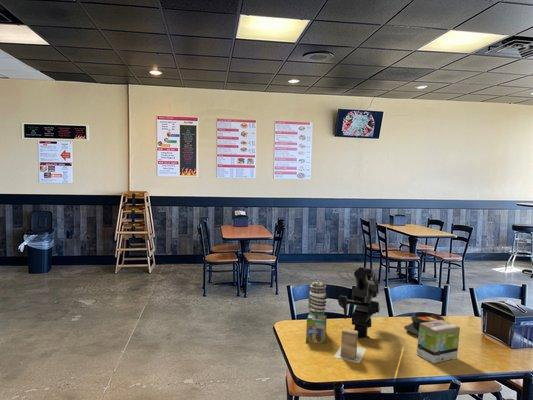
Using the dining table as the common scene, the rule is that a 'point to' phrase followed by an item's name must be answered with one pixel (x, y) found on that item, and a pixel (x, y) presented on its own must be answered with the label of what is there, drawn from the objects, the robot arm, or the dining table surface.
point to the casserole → (421, 321)
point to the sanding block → (349, 343)
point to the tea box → (438, 341)
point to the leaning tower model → (317, 298)
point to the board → (358, 357)
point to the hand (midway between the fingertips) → (355, 320)
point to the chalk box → (316, 328)
